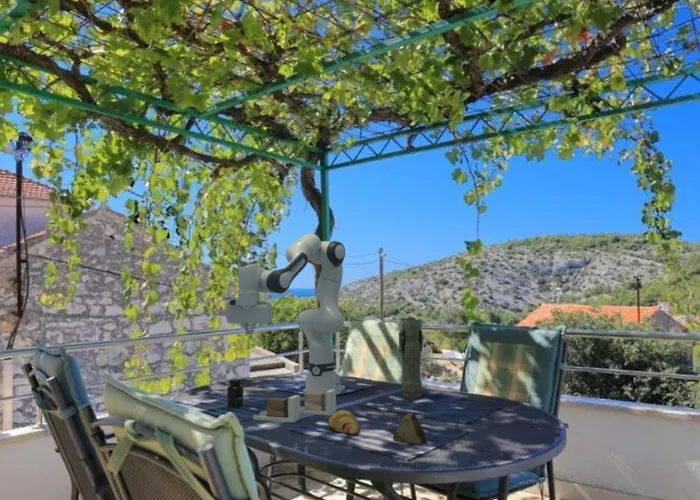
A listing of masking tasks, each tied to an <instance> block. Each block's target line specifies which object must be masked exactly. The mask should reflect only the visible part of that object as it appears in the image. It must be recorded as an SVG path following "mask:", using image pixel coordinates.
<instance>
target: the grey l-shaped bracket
mask: <svg viewBox="0 0 700 500" xmlns="http://www.w3.org/2000/svg"><path fill="white" fill-rule="evenodd" d="M287 399H288V418H281V417H269V416H267V412H259V415H255V414H253V417H252V419H253V420H255V421H256V420H258V421H271V422H283V423H296V422H297V421H299V420H301V413H300V406H301V395H299V394H295V395H292V396H289V397H288V398H287Z"/></svg>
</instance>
